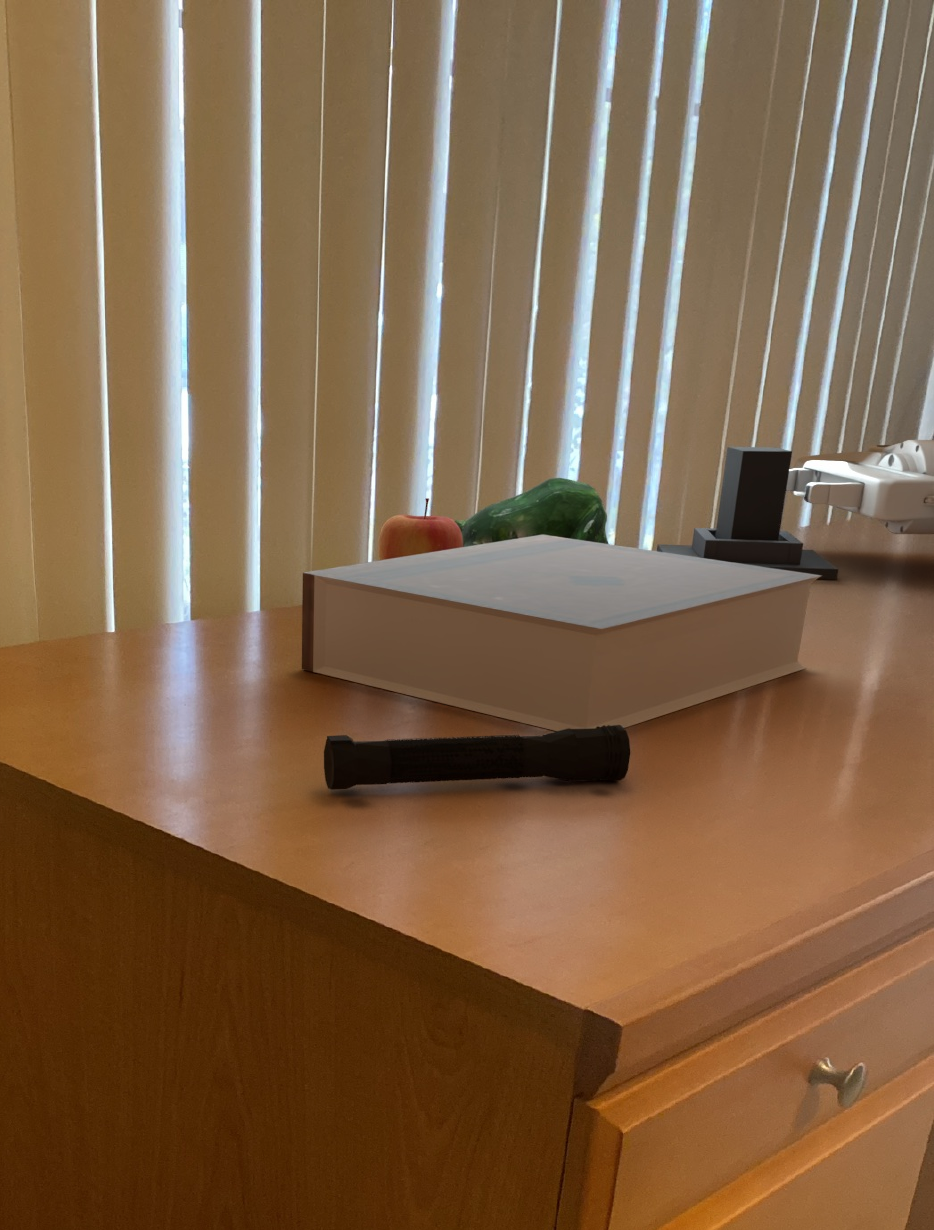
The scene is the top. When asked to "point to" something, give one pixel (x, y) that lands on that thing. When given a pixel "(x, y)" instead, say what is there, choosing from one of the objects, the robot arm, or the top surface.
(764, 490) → the dark grey block
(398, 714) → the top surface
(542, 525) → the green pepper
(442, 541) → the apple
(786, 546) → the base pad
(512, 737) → the flashlight
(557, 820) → the top surface
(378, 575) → the book
